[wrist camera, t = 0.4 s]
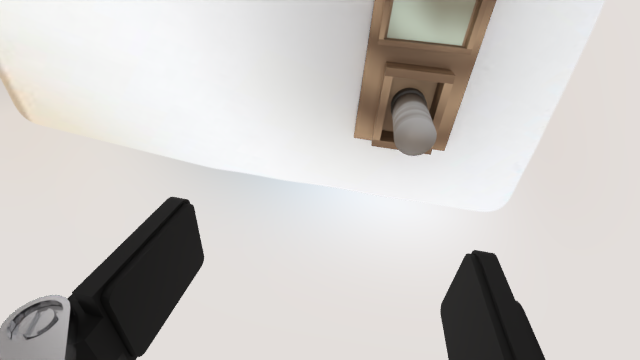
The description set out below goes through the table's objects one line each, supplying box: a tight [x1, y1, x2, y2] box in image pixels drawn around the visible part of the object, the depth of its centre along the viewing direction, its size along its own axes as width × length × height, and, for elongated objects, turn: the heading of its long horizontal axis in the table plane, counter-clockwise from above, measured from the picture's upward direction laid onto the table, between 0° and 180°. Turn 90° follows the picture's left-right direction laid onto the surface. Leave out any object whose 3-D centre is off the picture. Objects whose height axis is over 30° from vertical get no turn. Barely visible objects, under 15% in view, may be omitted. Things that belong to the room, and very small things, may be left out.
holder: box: [354, 0, 496, 156], centre depth 28 cm, size 21×11×10 cm, turn 176°
